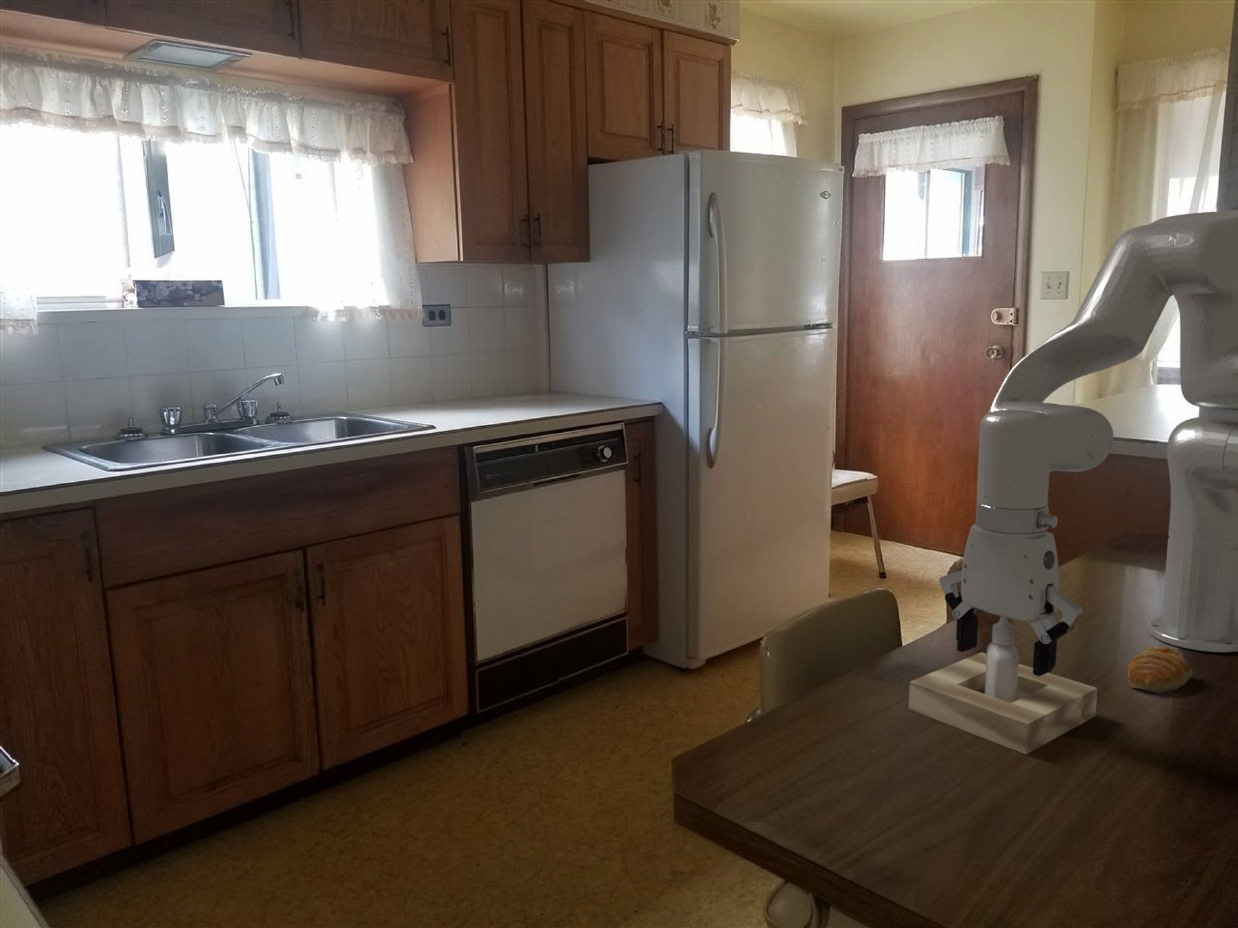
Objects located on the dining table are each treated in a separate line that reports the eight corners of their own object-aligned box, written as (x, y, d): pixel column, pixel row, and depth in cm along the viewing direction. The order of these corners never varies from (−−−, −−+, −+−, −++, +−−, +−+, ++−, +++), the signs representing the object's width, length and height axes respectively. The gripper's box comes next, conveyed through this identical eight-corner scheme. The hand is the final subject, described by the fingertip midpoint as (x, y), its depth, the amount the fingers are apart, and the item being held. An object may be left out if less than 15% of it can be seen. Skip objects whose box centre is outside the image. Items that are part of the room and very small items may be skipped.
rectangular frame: (980, 677, 124) (981, 652, 123) (1095, 716, 112) (1097, 687, 112) (908, 709, 115) (909, 681, 114) (1026, 754, 103) (1027, 723, 103)
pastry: (1173, 702, 116) (1175, 672, 115) (1113, 687, 121) (1115, 659, 120) (1194, 679, 123) (1196, 651, 122) (1136, 666, 127) (1138, 639, 127)
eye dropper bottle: (1027, 708, 114) (1032, 612, 112) (1009, 724, 110) (1014, 625, 108) (990, 699, 117) (994, 605, 115) (972, 714, 113) (976, 617, 111)
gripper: (1102, 526, 105) (1092, 674, 108) (962, 502, 119) (957, 634, 121) (1067, 537, 101) (1058, 691, 103) (926, 511, 114) (921, 647, 117)
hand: (1003, 660), depth 112 cm, fingers open, 9 cm apart
